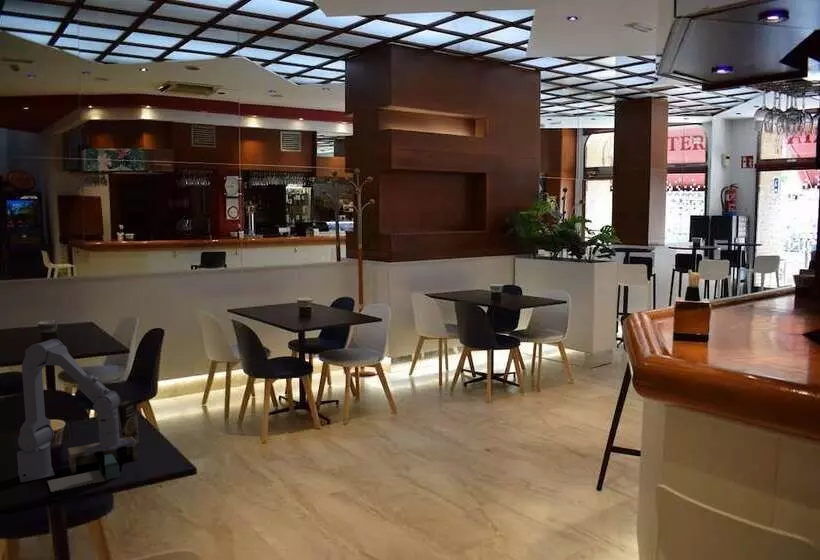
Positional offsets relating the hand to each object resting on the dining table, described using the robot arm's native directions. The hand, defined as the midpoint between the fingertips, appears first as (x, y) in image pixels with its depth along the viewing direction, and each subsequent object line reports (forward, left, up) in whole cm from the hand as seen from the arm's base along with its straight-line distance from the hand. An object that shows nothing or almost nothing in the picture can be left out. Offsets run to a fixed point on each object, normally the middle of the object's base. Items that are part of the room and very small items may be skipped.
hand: (111, 472), depth 217 cm
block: (0, +4, -1) cm, 5 cm away
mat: (-10, +3, -1) cm, 11 cm away
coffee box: (+9, +28, -2) cm, 29 cm away
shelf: (0, +15, -1) cm, 15 cm away
